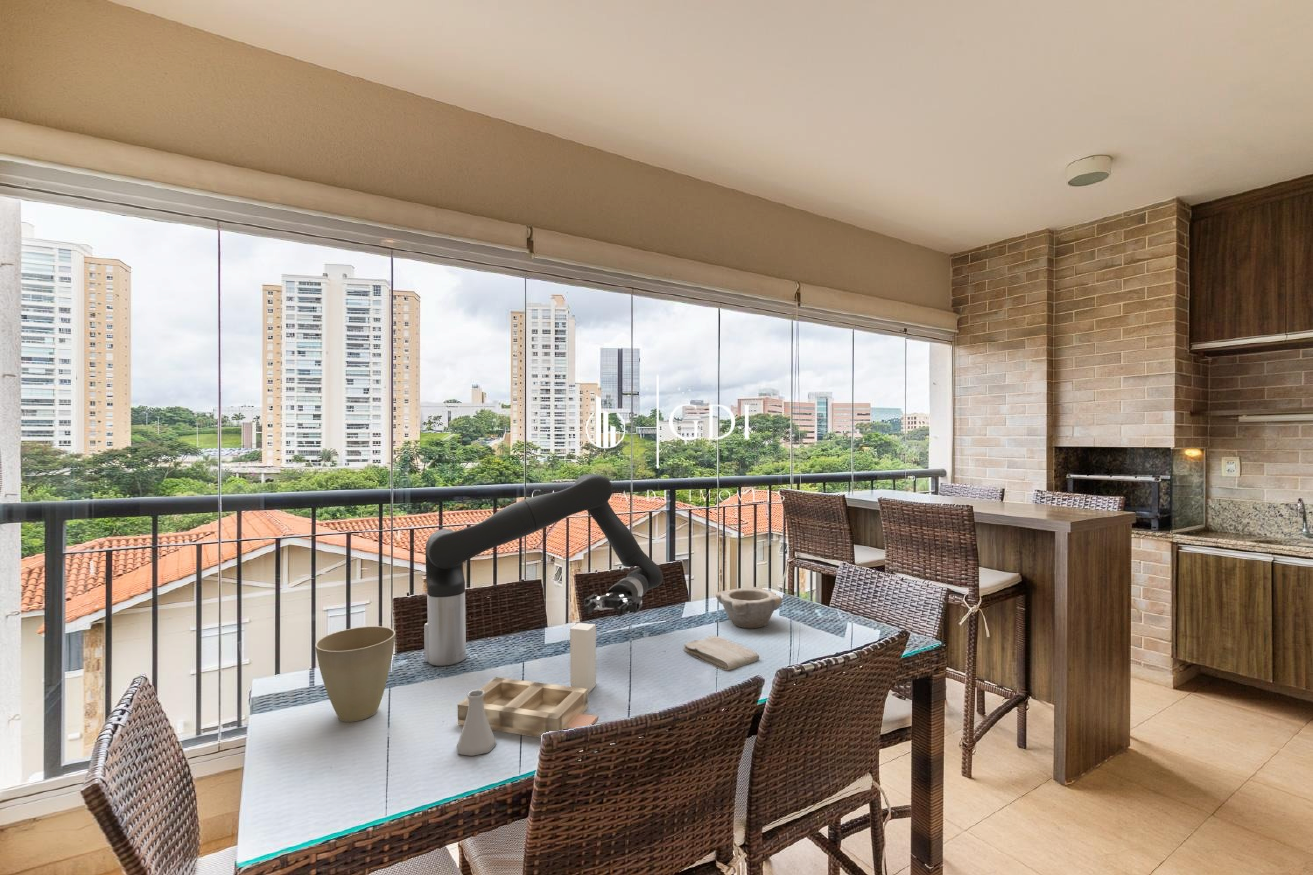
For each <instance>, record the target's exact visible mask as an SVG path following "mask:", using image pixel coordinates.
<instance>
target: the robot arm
mask: <svg viewBox="0 0 1313 875" xmlns="http://www.w3.org/2000/svg"><path fill="white" fill-rule="evenodd" d="M612 495H613V484H612V482H611V481H610V480H609V479H608V478H607V477H605V476H604V475H602V474H597V473H596V474H594V473H586V474H585V473H584V474H582V475H580V476H579V477H578V478H577V479H576V480H575V482H574V484H573V485H572V486H570V487H567V488H565V489H562V490H559V491H556V492H549V493H545V494H541V495H536V496H535V495H534V496H532V497H529V498H526V499H523V500H520V501H517V502H515V503H512V504H510V505H507V506H506V507H503V508H502V509H500V510H498V511H496V512H495V513H493V514H492V515H491V516H489V517H487V518H486V519H484V520H482V521H481V522H478V523H476V524H474V525H471V526H468V527H464V528H462V529H459V530H453V529H449V528H441V529H438V530H436V531H434V532H433V533H431V535H430V536H429V537H428V539H427V541H426V543H425V581H426V592H427V593H426V598H427V603H426V604H427V622H426V623H424V625H423V627H424V628H423V629H424V630H423V631H424V632H423V634H424V635H423V636H424V637H423V638H424V641H423V642H424V644H423V646H424V650H423V652H424V662H426V663H428V664H429V665H431V666H432V665H433V666H440V667H441V666H451V665H455V664H458V663H460V662H463V661H464V660H465V659H466V657H467V648H466V647H467V646H466V644H467V642H466V640H467V638H466V636H467V635H466V631H467V630H466V628H467V627H466V581H465V574H464V573H465V572H464V563H465V562H467V561H468V560H471V559H472V558H474V557H476V556H478V555H480V554H482V553H483V552H485V551H488V550H490V549H493V548H496V547H499V546H502V545H505V544H508V543H511V542H513V541H515V540H518V539H521V538H524V537H527V536H529V535H531V534H534V533H536V532H538V531H540V530H543V529H544V528H546V527H549V526H551V525H553V524H555V523H558V522H559V521H561V520H564V519H565V518H568V517H569V516H572V515H576V514H578V513H582V512H584V511H585V512H586V511H587V512H588V514H589V515H590V516H591V517H592V520H594V522H595V523H596V524H597V525H598V527H599V529H600V530H601V532H602V533H603V535H604V536H605V538H606V540H607V542H608V543H609V544H610V546H611V548H612V550H613V552H614V553H615V555H616V556H617V558H618V559H619V561H620V563H621V564H622V566H624V567H625V568H631V567H632V568H633V567H636V569H634V570H632V571H630V572H629V573H627V574H626V577H624V578H621V579H620V580H619V581H617V582H616V583H613V585H612V586H611V587H609V588H608V591H607V593H606V594H603V595H598V593H595V592H594V593H592V594H591V595H589V596H587V597H585V598H584V599H583V600H584V601H583V602H584V613H585V615H590V614H591V613H593V611H596V610H599V611H605V610H614V611H616V612H617V617H620V618H621V617H622V616H625V615H626V614H629V613H630V611H631V612H632V613H634V614H636V613H638V612H639V610H640V609H641V608H642V607H643V596H645V594H646V593H647V592H648V591H649V590H652V589H656V588H657V587H659V586H660V585H662V583H663V581H664V576H663V573H662V569H661V568H660V567H659V565H658V564H657V563H656V562H655V561H653V560H652V559H651V558H650V557H649V555H647V554H646V552H644V551H643V550H642V548H641V547H640V545H639V543H638V541H637V540H636V538H635V536H634V535H633V533H632V532H631V531H630V529H629V528H628V527H627V526H626V524H625V523H624V522H623V521H622V520H621V518H620V517H619V516H618V515H617V514H616V512H615V510H613V508H612V506H611V505H610V503H609V500H610V499H611V497H612ZM637 567H638V568H637Z"/></svg>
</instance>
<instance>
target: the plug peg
mask: <svg viewBox="0 0 1313 875" xmlns="http://www.w3.org/2000/svg"><path fill="white" fill-rule="evenodd" d="M569 650H570V652H569V656H570V658H569V659H570V660H569V664H570V665H569V666H570V675H569V676H570V680H569V681H570V687H576V688H584V689H588V694H589V693H590V692H592V690H593V689H594V688H595V687H596V686H597V624H595V623H586V622H585V623H584V622H583V623H582V622H577V623H576V624H575V625H573V626H572V627H570V628H569Z"/></svg>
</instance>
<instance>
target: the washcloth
mask: <svg viewBox="0 0 1313 875" xmlns="http://www.w3.org/2000/svg"><path fill="white" fill-rule="evenodd" d="M683 651H685V652H686V653H687V654H688V655H690V656H691V657H694V658H696V659H699V660H700V661H703V662H705V663H707V664H710V665H712V666H714V667H716V668H718V669H721V670H723V671H731V670H735V669H738V668H739V667H742V666H747V665H749V664H752V663H755V662H757V661H759V660H760V655H759V654H758V652H755V651H754V650H752V649H749V648H746V647H744V646H743V645H740V644H738V643H735V642H732V641H730V640H727V639H725V638H723V637H720V636H717V635H711V636H708V637H707V638H705V639H697V640H693V641H689V642H686V643H685V644H684V647H683Z"/></svg>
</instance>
